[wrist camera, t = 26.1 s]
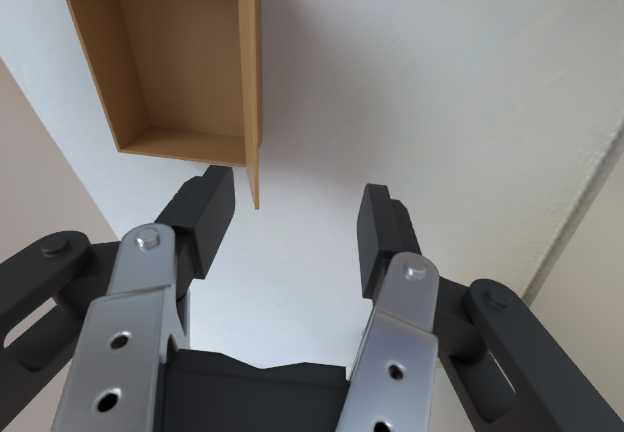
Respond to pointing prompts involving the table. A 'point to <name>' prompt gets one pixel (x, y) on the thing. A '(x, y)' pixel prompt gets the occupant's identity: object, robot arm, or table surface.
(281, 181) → the table surface
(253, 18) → the flap
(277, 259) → the table surface
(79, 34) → the carton
